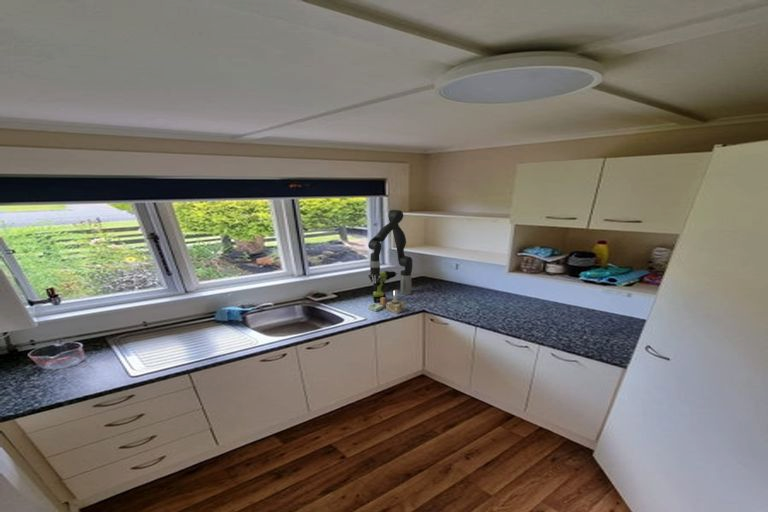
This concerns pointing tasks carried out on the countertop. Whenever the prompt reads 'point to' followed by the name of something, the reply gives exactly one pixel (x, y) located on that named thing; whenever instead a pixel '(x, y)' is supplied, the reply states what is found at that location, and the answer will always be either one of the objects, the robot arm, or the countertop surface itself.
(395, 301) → the steel bit
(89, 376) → the countertop surface
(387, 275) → the cordless drill
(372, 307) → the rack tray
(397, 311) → the socket block
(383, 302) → the drift key
